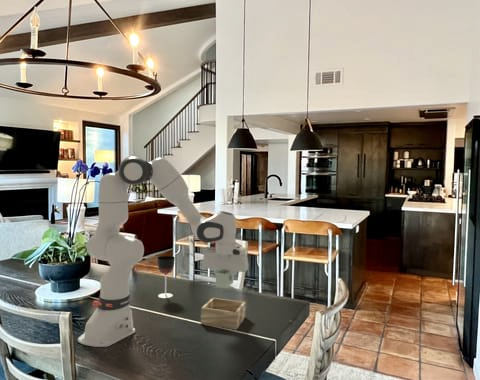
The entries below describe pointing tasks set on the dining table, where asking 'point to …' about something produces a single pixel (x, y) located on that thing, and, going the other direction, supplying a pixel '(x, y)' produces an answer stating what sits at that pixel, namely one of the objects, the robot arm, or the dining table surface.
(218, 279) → the green crate
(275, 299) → the dining table surface
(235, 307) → the birch crate
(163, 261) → the wineglass
